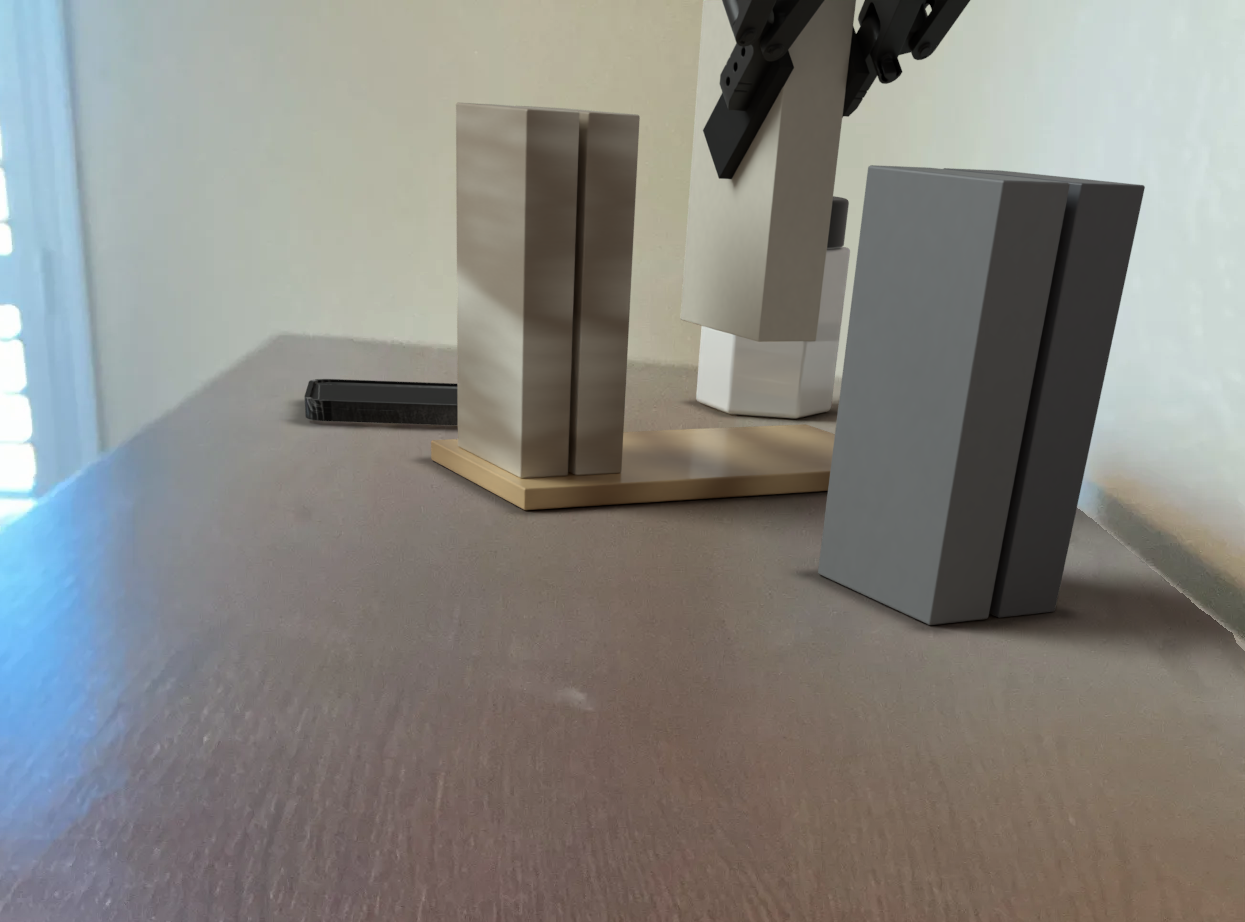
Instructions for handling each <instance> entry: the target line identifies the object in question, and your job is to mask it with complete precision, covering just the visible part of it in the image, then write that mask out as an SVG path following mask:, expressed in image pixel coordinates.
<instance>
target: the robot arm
mask: <svg viewBox="0 0 1245 922" xmlns="http://www.w3.org/2000/svg"><path fill="white" fill-rule="evenodd" d="M722 2H723V5H724V8H725V11H726V14H727V17H728V20H729V23H730V26H731V29H732V32H733V34H734V37H735V40H736V45H735V47H734V49H733V51H732V53H731V55H730V57H729V59H728V61H727V63H726V65H725V67H724V69H723V71H722V73H721V75H720V87H721V90H722V94H721V96H720V98H719V100H718V102H717V104H716V106H715V108H714V110H713V112H712V114H711V116H710V117H709V119H708V121H707V123H706V125H705V127H704V129H703V132H704V135H705V138H706V141H707V144H708V147H709V150H710V153H711V156H712V159H713V162H714V165H715V168H716V171H717V174H718V177H719V179H732V178H733V176H734V174H735V172H736V170H737V169H738V167H739V165H740V163H741V161H742V160H743V158H744V156H745V154H746V152H747V151H748V149H749V147H750V145H751V143H752V142H753V140H754V138H755V136H756V135H757V133H758V131H759V129H760V127H761V126H762V124H763V122H764V120H765V118H766V117H767V115H768V113H769V111H770V109H771V108H772V106H773V104H774V102H775V100H776V99H777V97H778V95H779V93H780V92H781V90H782V88H783V87H784V85H785V83H786V81H787V80H788V78H789V76H790V74H791V72H792V71H793V69H794V65H793V62H792V60H791V57H790V54H789V51H788V50H789V48H790V47H791V45H792V44H793V43H794V41H795V40H796V39H797V37H798V36H799V34H800V33H801V32H802V30H803V29H804V28H805V26H806V25H807V24H808V22H809V21H810V19H811V18H812V17H813V15H814V14H815V13H816V11H817V10H818V9H819V7H820V6H821V4H822V3H823V2H824V0H722ZM970 2H971V0H864V1H863V3H862V5H861V7H860V11H859V14H858V16H857V22H858V24H859V28H858V30H857V31H856V29H855V27H854V25H853V31H852V39H851V48H850V56H849V65H848V73H847V82H846V90H845V99H844V107H843V116H842V119H844V117H846V118H847V117H848V118H849V117H850V116H851V115H852V114H853V113H854V112H855V111H856V110H857V109H858V108H859V107H860V105H861V103H862V101H863V100H864V98H865V97H866V95H867V93H868V91H869V90H870V88H871V87H872V85H874V82H875V81H876V79H878V81H879V83H881V84H883V85H887V84H891V83H893V82H894V81H896V80H898V78H900V77H901V76H902V74H903V69H902V66H901V64H900V61H899V56H902V55H905V54H906V55H907V54H911V56H912V58H913V60H916V61H923V60H925V59H928V58H929V57H930V56H932V55H933V53H935V51H936V50H937V48H938V47H939V45H940V44H941V43H942V41H943V40H944V38H945V37H946V35H947V34H948V33H949V31H950V30H951V29H952V27H953V26H954V24H955V23H956V22H957V20H958V18H959V17H960V16H961V14H962V13H963V12H964V10H965V9H966V7H967V6H968V4H969V3H970ZM928 6H930V9H931V11H930V12H929V13H928V12H927V7H928Z"/></svg>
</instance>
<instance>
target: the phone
mask: <svg viewBox="0 0 1245 922" xmlns="http://www.w3.org/2000/svg"><path fill="white" fill-rule="evenodd" d="M303 398H304V414H305V415H304V416H305V419H307V420H310V421H317V422H332V423H333V422H335V423H336V422H337V423H338V422H339V423H367V424H395V425H396V424H397V425H424V426H425V425H426V426H452V427H453V426H457V427H458V391H457V383H450V382H449V383H448V382H424V381H423V382H421V381H397V380H396V381H394V380H369V379H368V380H365V379H344V378H343V379H341V378H316V379H310V380H309V381H308V382H307V387H306V390H305V393H304V396H303Z"/></svg>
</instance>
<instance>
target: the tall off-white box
mask: <svg viewBox="0 0 1245 922" xmlns="http://www.w3.org/2000/svg"><path fill="white" fill-rule="evenodd" d="M856 4H857V0H824V2H823V3H822V4H821V6H820V7H819V9H818V10H817V11H816V13H815V14H814V15H813V17H812V18H811V19H810V21H809V22H808V24H807V25H806V26H805V28H804V29H803V30H802V32H801V33H800V34H799V36H798V37H797V39H796V40H795V41H794V43H793V44H792V45H791V47H790V48H789V50H788V51H789V54H790V57H791V60H792V62H793V65H794V69H793V71H792V72H791V74H790V76H789V78H788V80H787V81H786V83H785V85H784V87H783V88H782V90H781V92H780V93H779V95H778V97H777V99H776V100H775V102H774V104H773V106H772V108H771V109H770V111H769V113H768V115H767V117H766V118H765V120H764V122H763V124H762V126H761V127H760V129H759V131H758V133H757V135H756V136H755V138H754V140H753V142H752V143H751V145H750V147H749V149H748V151H747V152H746V154H745V156H744V158H743V160H742V161H741V163H740V165H739V167H738V169H737V170H736V172H735V174H734V176H733V178H732V179H719V177H718V174H717V171H716V168H715V165H714V162H713V159H712V156H711V153H710V150H709V147H708V144H707V141H706V138H705V135H704V132H703V129H704V127H705V125H706V123H707V121H708V119H709V117H710V116H711V114H712V112H713V110H714V108H715V106H716V104H717V102H718V100H719V98H720V96H721V94H722V90H721V87H720V75H721V73H722V71H723V69H724V67H725V65H726V63H727V61H728V59H729V57H730V55H731V53H732V51H733V49H734V47H735V45H736V40H735V37H734V34H733V32H732V29H731V26H730V23H729V20H728V17H727V14H726V11H725V8H724V5H723V2H722V0H702V11H701V23H700V24H701V26H700V38H699V39H700V40H699V51H698V53H699V54H698V67H697V79H696V80H697V81H696V92H695V93H696V96H695V108H694V109H695V110H694V122H693V124H694V125H693V136H692V149H691V150H692V151H691V163H690V175H689V176H690V178H689V191H688V192H689V193H688V205H687V219H686V232H685V233H686V234H685V247H684V261H683V275H682V286H681V287H682V289H681V300H680V301H681V303H680V316H679V319H680V321H683V322H686V323H687V322H688V323H691V324H694V325H697V326H698V325H699V326H700V327H701V326H705V327H708V328H712V329H715V330H719V331H722V332H726V333H730V334H733V335H737V336H740V337H744V338H747V339H751V340H755V341H758V342H776V341H816V337H817V328H818V320H819V311H820V303H821V294H822V286H823V277H824V269H825V260H826V252H827V243H828V235H829V226H830V218H831V209H832V201H833V196H834V191H835V183H836V174H837V166H838V158H839V157H838V156H839V148H840V142H841V141H840V140H841V132H842V123H843V118H842V116H843V107H844V99H845V90H846V82H847V73H848V65H849V56H850V48H851V39H852V31H853V26H854V21H855V15H856V14H855V13H856V12H855V11H856ZM843 117H844V116H843Z"/></svg>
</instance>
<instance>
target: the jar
mask: <svg viewBox="0 0 1245 922" xmlns="http://www.w3.org/2000/svg"><path fill="white" fill-rule="evenodd" d="M849 205H850V201H849V200H848V199H847V198H845V197H840V196H835V195H833V201H832V209H831V218H830V226H829V235H828V243H827V252H826V260H825V269H824V277H823V286H822V294H821V303H820V311H819V320H818V328H817V337H816V341H776V342H758V341H755V340H751V339H747V338H744V337H740V336H737V335H733V334H730V333H726V332H722V331H719V330H715V329H712V328H708V327H705V326H701V325H700V340H699V351H698V365H697V379H696V381H697V382H696V394H695V399H696V401H697V402H698V403H699V404H702V405H705V406H707V407H710V408H713V409H715V410H718V411H720V412H722V413H726V414H729V415H739V416H753V417H767V418H779V419H780V418H781V419H801V418H804V417H809V416H814V415H817V414H822V413H827V412H829V411H830V410H831V408H832V405H833V397H834V388H835V387H834V386H835V379H836V371H837V362H838V356H839V355H838V354H839V347H840V338H841V330H842V322H843V313H844V306H845V296H846V289H847V279H848V273H849V272H848V271H849V263H850V256H851V250H850V248H849V247H847V246H844V245H845V239H846V231H847V224H848V223H847V221H848V214H849Z"/></svg>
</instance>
